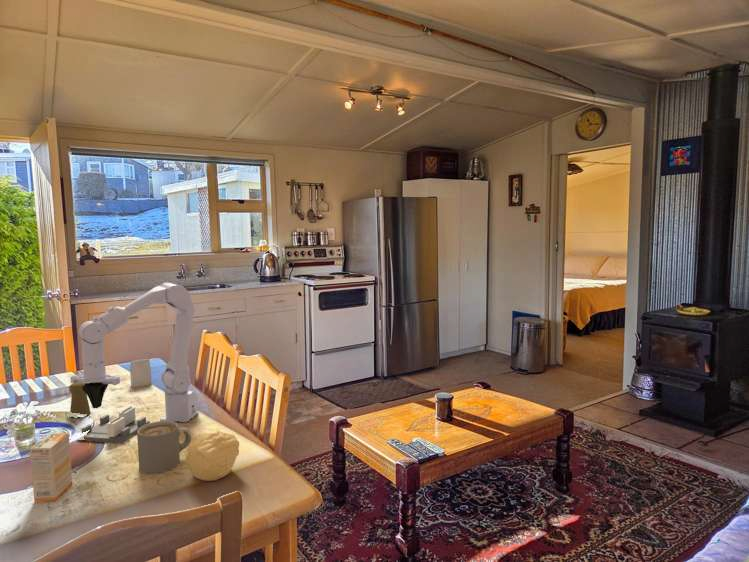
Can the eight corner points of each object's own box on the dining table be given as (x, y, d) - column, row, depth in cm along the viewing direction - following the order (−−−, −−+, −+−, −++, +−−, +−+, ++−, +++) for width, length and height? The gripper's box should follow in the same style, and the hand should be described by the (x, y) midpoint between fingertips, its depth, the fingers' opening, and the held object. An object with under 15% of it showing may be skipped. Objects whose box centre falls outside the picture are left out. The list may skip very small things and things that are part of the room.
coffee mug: (142, 477, 126) (140, 439, 125) (136, 461, 135) (134, 425, 133) (197, 463, 133) (195, 427, 132) (188, 449, 142) (187, 415, 141)
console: (149, 424, 159) (149, 415, 159) (121, 443, 146) (120, 433, 145) (109, 421, 161) (108, 412, 161) (77, 440, 148) (77, 430, 147)
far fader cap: (135, 419, 159) (134, 406, 159) (125, 425, 154) (124, 412, 154) (129, 419, 160) (128, 405, 159) (119, 425, 155) (118, 411, 154)
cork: (81, 418, 164) (79, 386, 163) (65, 417, 165) (63, 384, 164) (95, 412, 170) (93, 380, 168) (79, 410, 171) (77, 379, 170)
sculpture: (210, 491, 120) (209, 447, 119) (178, 477, 126) (176, 436, 125) (246, 471, 129) (245, 431, 128) (214, 459, 136) (213, 421, 135)
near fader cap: (125, 430, 151) (124, 416, 151) (114, 437, 146) (113, 422, 146) (119, 429, 152) (118, 415, 151) (108, 436, 147) (107, 422, 146)
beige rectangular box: (151, 384, 199) (150, 359, 198) (133, 387, 195) (131, 362, 194) (149, 382, 202) (147, 357, 201) (130, 385, 198) (129, 360, 197)
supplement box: (52, 484, 123) (48, 432, 121) (73, 483, 123) (69, 432, 122) (32, 503, 115) (28, 447, 113) (54, 502, 115) (50, 447, 114)
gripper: (61, 365, 145) (64, 410, 146) (107, 367, 142) (110, 413, 144) (79, 358, 151) (82, 402, 153) (123, 360, 149) (126, 404, 151)
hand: (97, 407), depth 149 cm, fingers closed
